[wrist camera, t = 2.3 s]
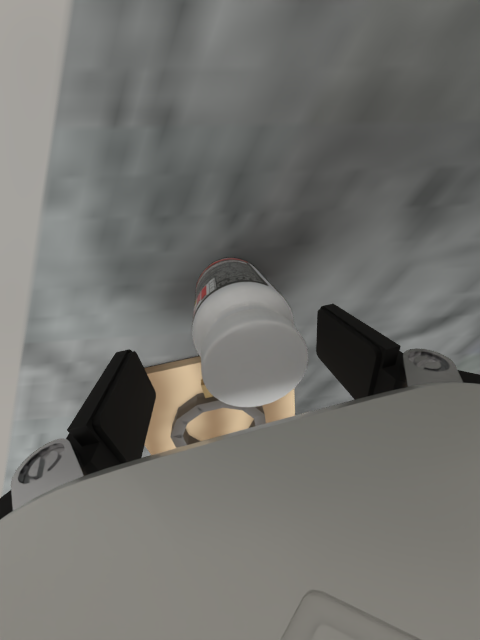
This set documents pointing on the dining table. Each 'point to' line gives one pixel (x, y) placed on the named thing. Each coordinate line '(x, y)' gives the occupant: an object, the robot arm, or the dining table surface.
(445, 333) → the dining table surface
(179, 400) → the socket board
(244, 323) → the pill bottle
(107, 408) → the robot arm
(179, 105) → the dining table surface
